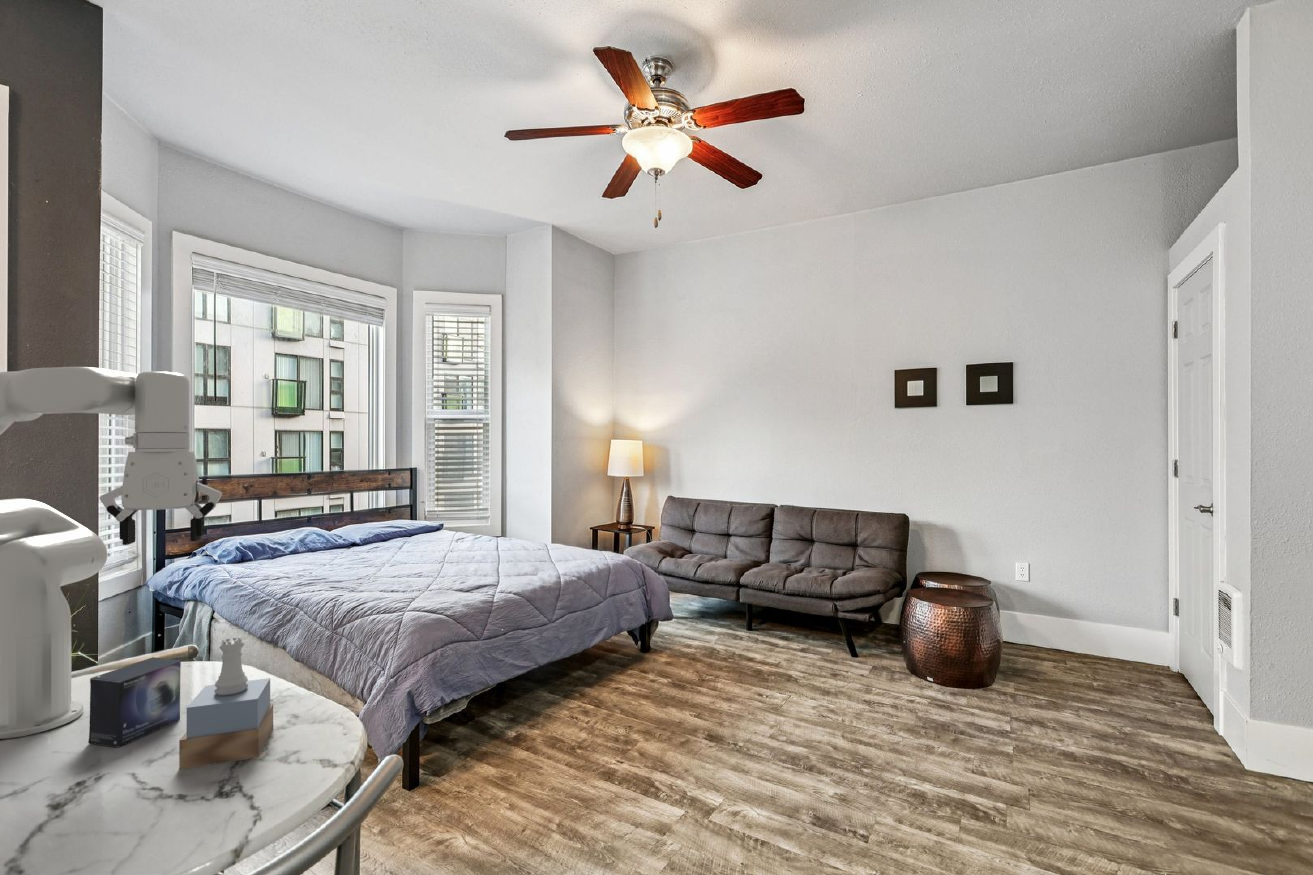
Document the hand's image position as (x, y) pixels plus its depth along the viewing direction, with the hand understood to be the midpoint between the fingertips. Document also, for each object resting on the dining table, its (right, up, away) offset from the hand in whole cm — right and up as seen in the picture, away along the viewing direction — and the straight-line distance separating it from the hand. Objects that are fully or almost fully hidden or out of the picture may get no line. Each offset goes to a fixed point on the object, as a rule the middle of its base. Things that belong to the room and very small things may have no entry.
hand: (162, 542), depth 110 cm
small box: (0, -31, -5) cm, 31 cm away
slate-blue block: (+19, -26, -11) cm, 34 cm away
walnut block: (+19, -31, -11) cm, 38 cm away
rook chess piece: (+19, -22, -11) cm, 31 cm away
